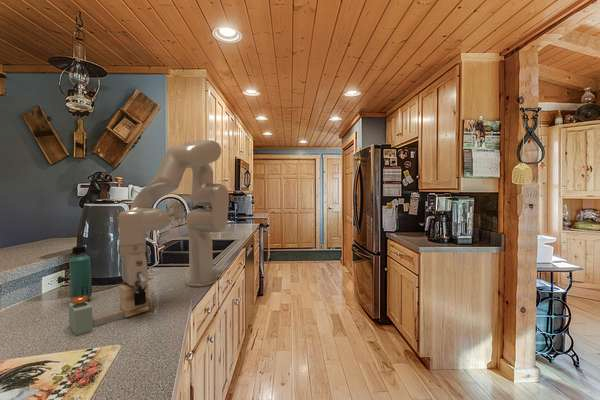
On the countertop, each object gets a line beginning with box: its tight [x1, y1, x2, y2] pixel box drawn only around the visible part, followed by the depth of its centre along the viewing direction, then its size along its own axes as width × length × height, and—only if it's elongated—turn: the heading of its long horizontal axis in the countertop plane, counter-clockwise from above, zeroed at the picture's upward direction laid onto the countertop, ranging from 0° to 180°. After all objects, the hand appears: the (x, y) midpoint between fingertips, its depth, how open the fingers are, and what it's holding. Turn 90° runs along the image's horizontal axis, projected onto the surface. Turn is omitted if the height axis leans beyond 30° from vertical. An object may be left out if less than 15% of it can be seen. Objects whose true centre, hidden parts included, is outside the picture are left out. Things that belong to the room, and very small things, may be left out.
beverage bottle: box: [68, 245, 93, 301], centre depth 108 cm, size 6×7×20 cm
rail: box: [92, 298, 153, 328], centre depth 96 cm, size 16×4×3 cm, turn 138°
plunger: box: [71, 295, 89, 308], centre depth 88 cm, size 4×4×6 cm
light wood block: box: [118, 282, 150, 318], centre depth 98 cm, size 7×5×9 cm
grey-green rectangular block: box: [68, 301, 94, 337], centre depth 88 cm, size 4×8×7 cm, turn 48°
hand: (134, 300), depth 99 cm, fingers open, 9 cm apart
